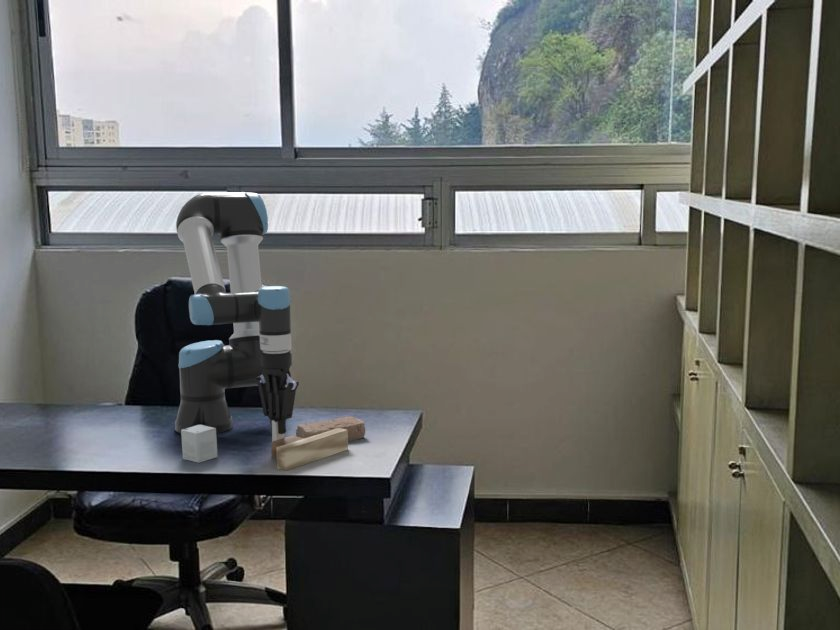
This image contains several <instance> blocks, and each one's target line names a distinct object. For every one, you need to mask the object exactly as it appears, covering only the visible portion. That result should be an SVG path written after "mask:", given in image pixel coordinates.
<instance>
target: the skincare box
mask: <svg viewBox="0 0 840 630" xmlns="http://www.w3.org/2000/svg"><path fill="white" fill-rule="evenodd" d="M180 435H181V451H182V459H183V460H186V461H189V462H194V463H198V464H199V463H203V462H206V461H209V460H212V459H215V458H218V443H217V442H218V440H217V433H216V428H213V427H208V426H204V425H196V426H193V427H189V428H186V429H182V430H181V433H180Z"/></svg>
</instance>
